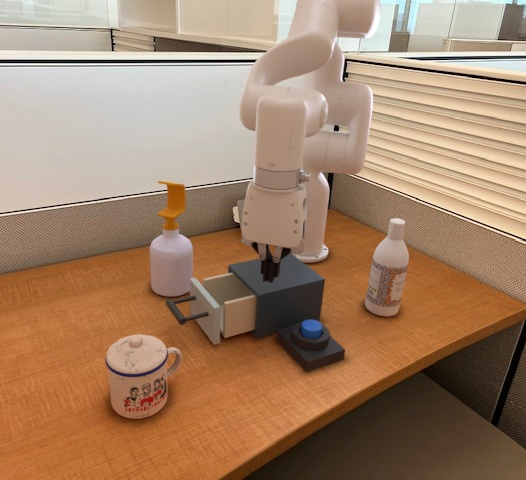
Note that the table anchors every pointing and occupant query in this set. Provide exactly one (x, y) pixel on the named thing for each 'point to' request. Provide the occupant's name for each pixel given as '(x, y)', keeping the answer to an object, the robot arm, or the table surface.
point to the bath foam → (388, 272)
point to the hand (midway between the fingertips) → (269, 278)
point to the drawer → (219, 306)
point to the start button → (311, 329)
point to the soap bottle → (171, 249)
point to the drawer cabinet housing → (282, 294)
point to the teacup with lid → (139, 375)
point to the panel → (310, 347)
